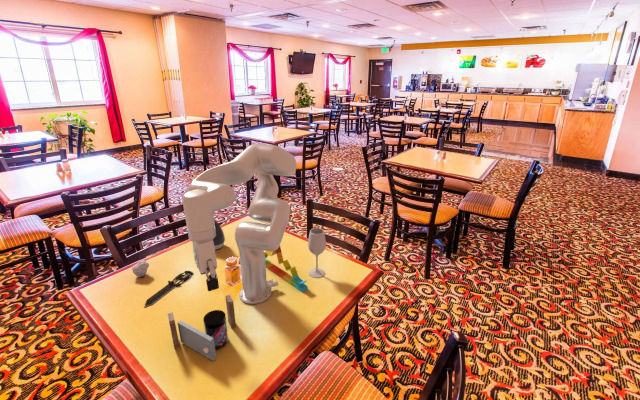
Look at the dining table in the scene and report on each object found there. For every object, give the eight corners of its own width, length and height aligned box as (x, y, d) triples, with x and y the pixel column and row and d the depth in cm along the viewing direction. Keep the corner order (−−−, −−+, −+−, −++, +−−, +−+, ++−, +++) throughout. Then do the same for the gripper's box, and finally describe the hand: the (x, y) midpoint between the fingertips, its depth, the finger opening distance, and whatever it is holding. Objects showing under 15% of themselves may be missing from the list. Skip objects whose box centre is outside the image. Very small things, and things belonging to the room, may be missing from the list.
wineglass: (305, 275, 142) (305, 233, 134) (312, 267, 148) (312, 226, 141) (321, 279, 139) (321, 236, 132) (327, 270, 146) (328, 228, 138)
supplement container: (203, 349, 103) (199, 324, 99) (211, 334, 109) (208, 309, 106) (224, 351, 102) (221, 325, 99) (231, 335, 109) (228, 310, 105)
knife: (146, 310, 121) (146, 307, 121) (135, 305, 124) (134, 302, 123) (197, 275, 142) (196, 272, 142) (186, 271, 145) (185, 269, 144)
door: (178, 344, 104) (174, 324, 102) (184, 339, 106) (180, 320, 103) (210, 363, 97) (207, 343, 95) (216, 358, 99) (213, 338, 96)
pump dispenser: (222, 252, 160) (219, 224, 155) (202, 252, 160) (198, 224, 155) (228, 242, 170) (225, 216, 165) (208, 242, 170) (205, 216, 165)
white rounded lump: (150, 277, 140) (147, 264, 137) (132, 281, 137) (128, 267, 135) (151, 270, 145) (149, 257, 143) (134, 273, 143) (131, 259, 140)
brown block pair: (232, 319, 116) (229, 294, 112) (235, 326, 113) (233, 300, 109) (172, 340, 106) (167, 313, 103) (174, 348, 103) (169, 321, 99)
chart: (308, 289, 133) (307, 258, 128) (302, 293, 131) (301, 261, 126) (265, 261, 153) (263, 233, 148) (259, 264, 151) (257, 235, 146)
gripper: (183, 223, 98) (191, 270, 105) (194, 248, 85) (203, 300, 91) (208, 218, 102) (214, 264, 108) (223, 241, 88) (229, 292, 95)
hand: (209, 280), depth 100 cm, fingers open, 9 cm apart
